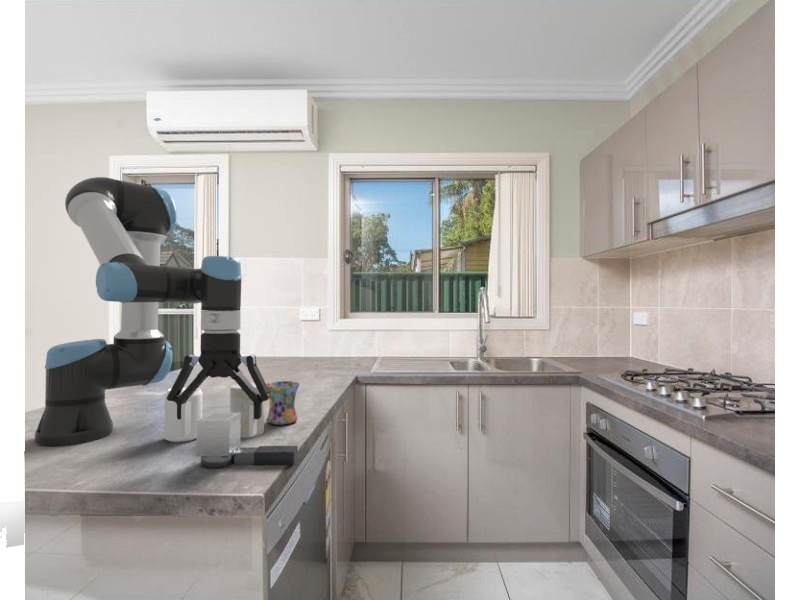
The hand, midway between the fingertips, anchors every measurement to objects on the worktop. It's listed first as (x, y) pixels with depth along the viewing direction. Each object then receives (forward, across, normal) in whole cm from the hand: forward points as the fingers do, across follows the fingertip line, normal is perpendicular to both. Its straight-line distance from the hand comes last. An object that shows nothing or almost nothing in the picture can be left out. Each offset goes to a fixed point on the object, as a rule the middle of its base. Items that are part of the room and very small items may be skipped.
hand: (219, 435), depth 86 cm
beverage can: (+6, -15, +16) cm, 23 cm away
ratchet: (+6, +6, 0) cm, 8 cm away
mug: (+6, +5, +31) cm, 32 cm away
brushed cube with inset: (+3, 0, 0) cm, 3 cm away
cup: (+6, -1, +20) cm, 21 cm away
